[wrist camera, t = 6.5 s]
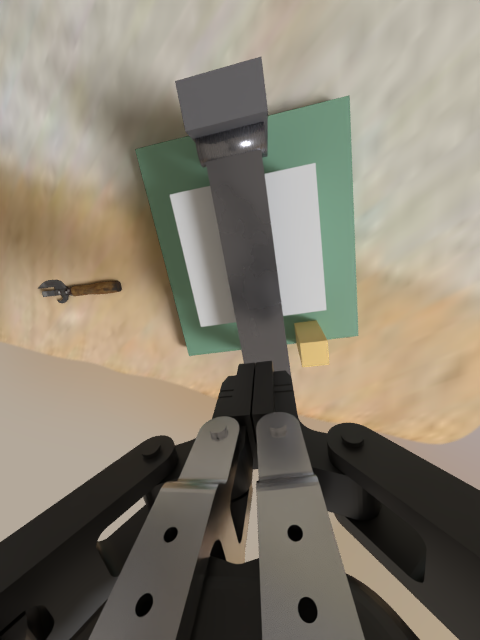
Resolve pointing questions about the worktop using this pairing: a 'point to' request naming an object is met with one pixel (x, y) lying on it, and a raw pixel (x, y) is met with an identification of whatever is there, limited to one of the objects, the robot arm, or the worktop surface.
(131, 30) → the worktop surface
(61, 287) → the can opener
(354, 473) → the robot arm
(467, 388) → the worktop surface
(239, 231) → the strap
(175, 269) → the cpu board
